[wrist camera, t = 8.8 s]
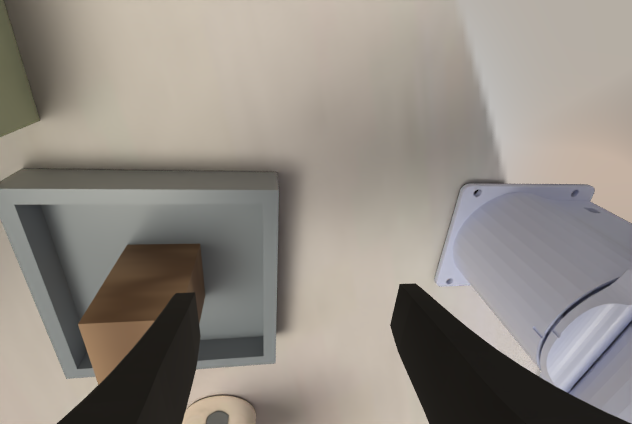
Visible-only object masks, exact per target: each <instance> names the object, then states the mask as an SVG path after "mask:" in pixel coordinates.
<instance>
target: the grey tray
mask: <svg viewBox="0 0 632 424" xmlns="http://www.w3.org/2000/svg"><path fill="white" fill-rule="evenodd" d="M278 210H279V186H278V177H277V172H236V171H160V170H83V169H21V170H19V171H17V172H15V173H14V174H12V175H10V176H9V177H7V178H5V179H4V180H2V181H0V219H1V222H2V224H3V227H4V229H5V231H6V234H7V236H8V239H9V241H10V243H11V246H12V248H13V251H14V253H15V256H16V258H17V260H18V263H19V265H20V268H21V270H22V273H23V275H24V277H25V280H26V282H27V285H28V287H29V289H30V292H31V294H32V297H33V299H34V302H35V304H36V306H37V309H38V311H39V314H40V316H41V319H42V321H43V323H44V326H45V328H46V331H47V333H48V335H49V338H50V340H51V343H52V345H53V348H54V350H55V352H56V355H57V357H58V360H59V362H60V365H61V367H62V369H63V372H64V374H65V377H66V379H70V378H83V377H96V376H95V373H94V370H93V367H92V364H91V361H90V358H89V355H88V352H87V349H86V347H85V344H84V341H83V338H82V335H81V332H80V329H79V326H78V323H79V322H80V320H81V318H82V317H83V315H84V313H85V312H86V310H87V309H88V307H89V305H90V304H91V302H92V301H93V299H94V297H95V296H96V294H97V292H98V291H99V289H100V288H101V286H102V284H103V283H104V281H105V280H106V278H107V276H108V275H109V273H110V271H111V270H112V268H113V267H114V265H115V263H116V262H117V260H118V259H119V257H120V255H121V254H122V252H123V251H124V249H125V247H126V246H127V245H135V244H200V247H201V257H202V267H203V277H204V287H205V300H204V305H203V309H202V314H201V319H200V324H199V327H200V335H201V337H200V345H199V353H198V360H197V367H196V369H206V368H220V367H233V366H247V365H261V364H274V363H275V362H276V311H277V261H278Z"/></svg>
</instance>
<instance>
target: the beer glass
mask: <svg viewBox="0 0 632 424" xmlns="http://www.w3.org/2000/svg"><path fill="white" fill-rule="evenodd" d="M255 423H256V412H255V409H254V408H253V406H252V405H251V404H250V403H248V402H247V401H245V400H243V399H241V398H238V397H234V396H227V395H219V396H211V397H207V398H204V399H201V400H199V401H197V402H195V403H194V404H192V405H191V406H190V407H189V408H188V409H187V410H186V411H185V415H184V419H183V423H182V424H255Z"/></svg>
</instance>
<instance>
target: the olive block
mask: <svg viewBox="0 0 632 424" xmlns="http://www.w3.org/2000/svg"><path fill="white" fill-rule="evenodd" d="M38 121H40V119H39V115H38V112H37V109H36V105H35V102H34V99H33V96H32V92H31V89H30V86H29V82H28V79H27V76H26V73H25V69H24V66H23V63H22V59H21V56H20V53H19V49H18V46H17V43H16V40H15V36H14V33H13V30H12V26H11V23H10V20H9V17H8V13H7V10H6V7H5V3H4V0H0V137H2V136H4V135H6V134H9V133H11V132H14V131H16V130H18V129H21V128H23V127H26V126H28V125H30V124H33V123H35V122H38Z"/></svg>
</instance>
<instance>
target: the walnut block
mask: <svg viewBox="0 0 632 424" xmlns="http://www.w3.org/2000/svg"><path fill="white" fill-rule="evenodd" d="M191 292H195V295H196V303H197V311H198V319H199V324H200V319H201V314H202V309H203V305H204V300H205V287H204V277H203V267H202V257H201V247H200V244H135V245H127V246H126V247H125V249H124V251H123V252H122V254H121V255H120V257H119V259H118V260H117V262H116V263H115V265H114V267H113V268H112V270H111V271H110V273H109V275H108V276H107V278H106V280H105V281H104V283H103V284H102V286H101V288H100V289H99V291H98V292H97V294H96V296H95V297H94V299H93V301H92V302H91V304H90V305H89V307H88V309H87V310H86V312H85V313H84V315H83V317H82V318H81V320H80V322H79V323H78V326H79V329H80V332H81V335H82V338H83V341H84V344H85V347H86V349H87V352H88V355H89V358H90V361H91V364H92V367H93V370H94V373H95V376H96V379H97V382H98V385H99V384H100V383H101V382H102V381H103V380H104V379H105V378H106V377H107V376H108V375H109V374H110V373H111V372H112V371H113V369H114V368H115V367H116V366H117V365H118V364H119V363H120V362H121V361H122V359H123V358H124V357H125V356H126V355H127V354H128V353H129V352H130V350H131V349H132V348H133V347H134V346H135V345H136V344H137V342H138V341H139V340H140V339H141V337H142V336H143V335H144V334H145V332H146V331H147V330H148V329H149V328H150V326H151V325H152V324H153V322H154V321H155V320H156V318H157V317H158V316H159V315H160V313H161V312H162V310H163V309H164V308H165V306H166V305H167V304H168V302H169V301H170V299H171V298H172V297H173V295H175V294H176V293H191Z"/></svg>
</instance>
